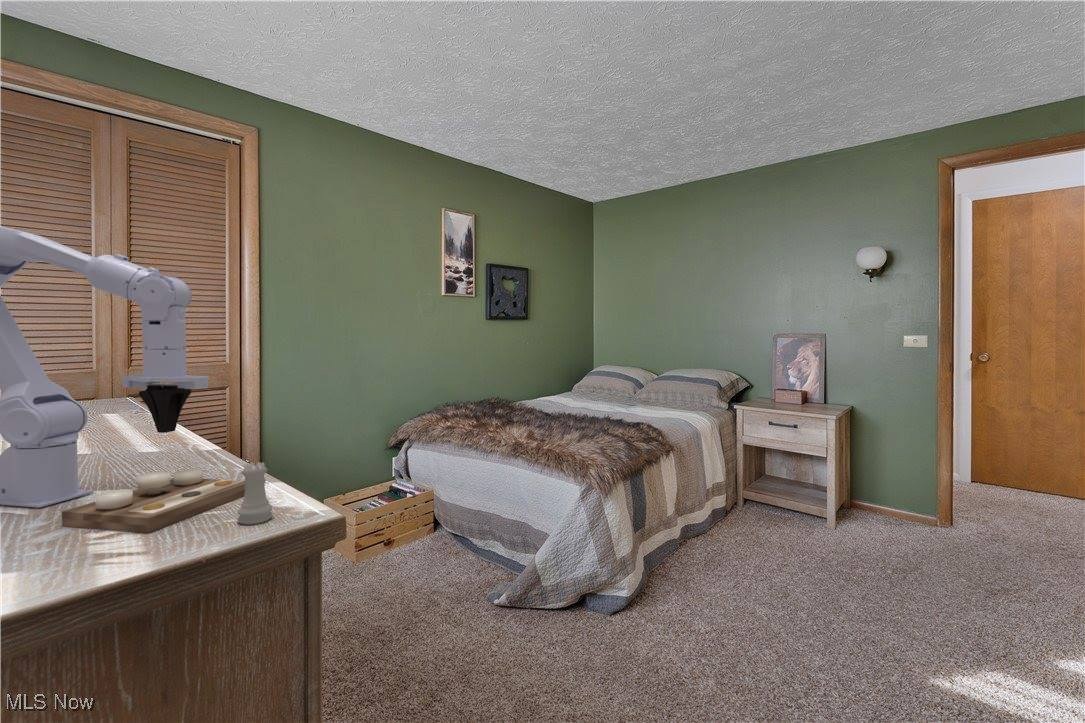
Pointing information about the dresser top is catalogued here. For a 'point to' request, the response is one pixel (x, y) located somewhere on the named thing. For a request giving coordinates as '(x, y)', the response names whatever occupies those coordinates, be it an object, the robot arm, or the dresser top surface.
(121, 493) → the button near
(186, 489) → the board
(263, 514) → the rook chess piece
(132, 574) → the dresser top surface
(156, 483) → the button mid
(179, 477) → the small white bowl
